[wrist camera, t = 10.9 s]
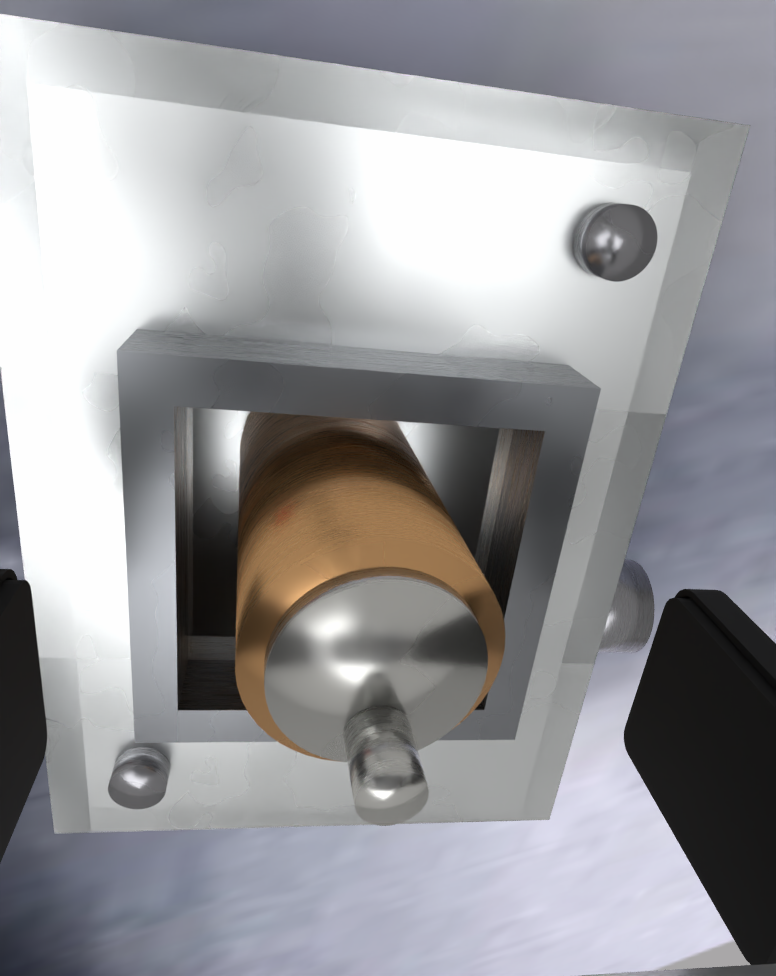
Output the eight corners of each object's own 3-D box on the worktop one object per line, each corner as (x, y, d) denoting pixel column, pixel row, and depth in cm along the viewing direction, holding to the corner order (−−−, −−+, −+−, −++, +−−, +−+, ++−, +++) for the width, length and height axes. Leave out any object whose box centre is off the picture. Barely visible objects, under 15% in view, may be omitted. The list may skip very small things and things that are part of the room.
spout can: (235, 375, 16) (223, 624, 8) (404, 373, 17) (567, 598, 8) (243, 528, 18) (241, 870, 9) (397, 520, 18) (526, 831, 10)
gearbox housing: (65, 58, 14) (-97, -19, 8) (700, 147, 16) (930, 138, 10) (106, 686, 20) (32, 895, 15) (556, 688, 23) (648, 869, 17)
